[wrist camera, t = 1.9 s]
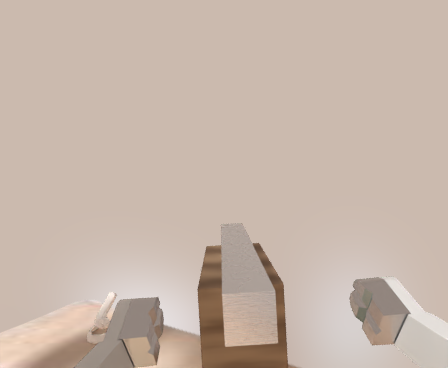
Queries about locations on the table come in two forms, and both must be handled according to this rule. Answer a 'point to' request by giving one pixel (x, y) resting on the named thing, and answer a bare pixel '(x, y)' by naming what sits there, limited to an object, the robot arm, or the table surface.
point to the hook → (101, 319)
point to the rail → (245, 292)
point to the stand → (214, 324)
